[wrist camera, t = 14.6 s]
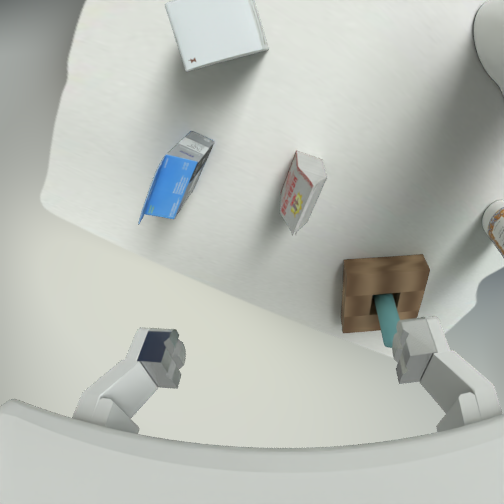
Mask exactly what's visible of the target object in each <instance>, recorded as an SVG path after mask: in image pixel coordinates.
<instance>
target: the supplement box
mask: <svg viewBox="0 0 504 504" xmlns="http://www.w3.org/2000/svg"><path fill="white" fill-rule="evenodd" d="M165 8H166V11H167V14H168V17H169V20H170V24H171V27H172V30H173V33H174V37H175V40H176V42H177V45H178V48H179V51H180V55H181V58H182V61H183V64H184V67H185V71H186V72H188V71H192V70H195V69H199V68H202V67H206V66H209V65H213V64H216V63H220V62H224V61H228V60H231V59H235V58H239V57H243V56H247V55H251V54H255V53H258V52H262V51H266V50H269V47H268V44H267V40H266V37H265V33H264V30H263V26H262V23H261V19H260V16H259V13H258V9H257V6H256V2H255V0H173V1H170V2H167V3H166V4H165Z"/></svg>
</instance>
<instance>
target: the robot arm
mask: <svg viewBox="0 0 504 504" xmlns="http://www.w3.org/2000/svg"><path fill="white" fill-rule="evenodd" d="M474 40H475V46H476V50H477V53H478V56H479V58H480V61H481V63H482V65H483V67H484V68H485V70H486V71H487V73H488V74H489V76H490V77H491V78H492V79H493V80H494V81H495V82H496V83H497V84H498V86H499V87H500V89H501V91H502V94H503V96H504V0H489V1H487V2H485V3H484V4H483V5H482V6H481V7H480V9H479V10H478V12H477V15H476V18H475V22H474ZM396 328H397V333H396V334H394V337H393V343H392V350H393V356H394V359H395V360H396V361H397V362H398V365H397V368H396V371H397V376H398V381H399V384H402V383H411V382H418V381H420V383H421V385H422V386H423V387H424V388H425V389H426V390H427V392H428V393H429V394H430V395H431V396H432V397H433V399H434V400H435V401H436V402H437V403H438V405H439V406H440V407H441V408H442V409H443V410H444V412H445V413H446V415H445V416H444V417H443V418H442V420H441V421H440V422H439V423H438V425H437V432H436V433H431V434H426V435H421V436H416V437H410V438H404V439H398V440H391V441H384V442H376V443H368V444H358V445H348V446H334V447H316V448H253V447H233V446H220V445H209V444H200V443H191V442H182V441H176V440H169V439H163V438H156V437H150V436H145V435H140V434H138V432H139V427H138V426H137V425H136V424H135V423H134V422H133V421H132V420H131V418H132V417H133V415H134V414H135V413H136V412H137V411H138V410H139V409H140V408H141V407H142V406H143V404H145V402H146V401H147V400H148V399H149V398H150V397H151V396H152V395H153V394H154V392H155V391H156V390H157V389H158V387H162V388H178V384H179V381H180V378H181V373H180V371H179V369H180V368H181V367H182V366H183V365H184V363H185V357H186V356H185V355H186V353H185V352H186V351H185V347H184V344H183V342H181V341H180V340H179V339H178V337H179V334H178V332H177V330H175V329H159V328H158V329H157V328H139V329H138V330H137V332H136V334H135V337H134V339H133V341H132V344H131V346H130V349H129V351H128V353H127V356H126V359H125V360H121V361H120V362H119V363H118V364H116V365H115V366H114V367H113V368H112V369H110V370H109V371H108V372H107V373H105V374H104V375H103V376H102V377H100V378H99V379H98V380H97V381H96V382H95V383H93V384H92V385H91V386H90V387H88V388H87V389H86V390H85V391H84V392H83V393H82V395H81V397H80V400H79V402H78V405H77V407H76V410H75V412H74V415H73V417H72V418H70V417H66V416H63V415H60V414H57V413H53V412H51V411H48V410H45V409H42V408H39V407H36V406H33V405H31V404H28V403H25V402H23V401H20V400H17V399H11V400H9V401H7V402H6V403H4V404H3V405H1V406H0V504H504V414H502V410H501V407H500V403H499V400H498V397H497V393H496V390H495V387H494V385H493V384H492V383H491V382H490V381H488V380H487V379H486V378H485V377H484V376H483V375H482V374H480V373H479V372H478V371H477V370H476V369H475V368H474V367H472V366H471V365H470V364H469V363H468V362H467V361H466V360H464V359H463V358H462V357H461V356H460V355H458V354H457V353H456V352H455V351H454V350H451V351H450V349H449V346H448V343H447V340H446V337H445V334H444V331H443V329H442V326H441V323H440V321H439V318H438V317H437V316H431V317H424V318H423V317H421V318H413V319H405V320H399V321H398V322H397V326H396Z"/></svg>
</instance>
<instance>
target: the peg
mask: <svg viewBox="0 0 504 504" xmlns="http://www.w3.org/2000/svg"><path fill="white" fill-rule="evenodd" d="M373 297H374V301H375V306H376V310H377V314H378V319H379V323H380V328H381V332H382V337H383V342H384V345H385V346H386V347H390V348H392V343H393V337H394V334H396V333H397V328H396V326H397V322H398V321H399V320H400V319H399V315H398V312H397V308H396V305H395V301H394V298H393V295H392V293H388V294H376V295H373Z"/></svg>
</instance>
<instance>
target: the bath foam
mask: <svg viewBox="0 0 504 504" xmlns="http://www.w3.org/2000/svg"><path fill="white" fill-rule="evenodd" d="M482 225H483V229H484V231H485V232H486V234H487V235H488V236H489V238H490V239H491V241H492V242H493V243H494V245H495V246H496V248H497V249H498V250H499V252H500V253H501V255H502V256H503V258H504V200H498V201H495V202H494V203H492V204H491V205H490V206H489V207H488V208H487V209H486V211H485V213H484V215H483V219H482Z"/></svg>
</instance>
